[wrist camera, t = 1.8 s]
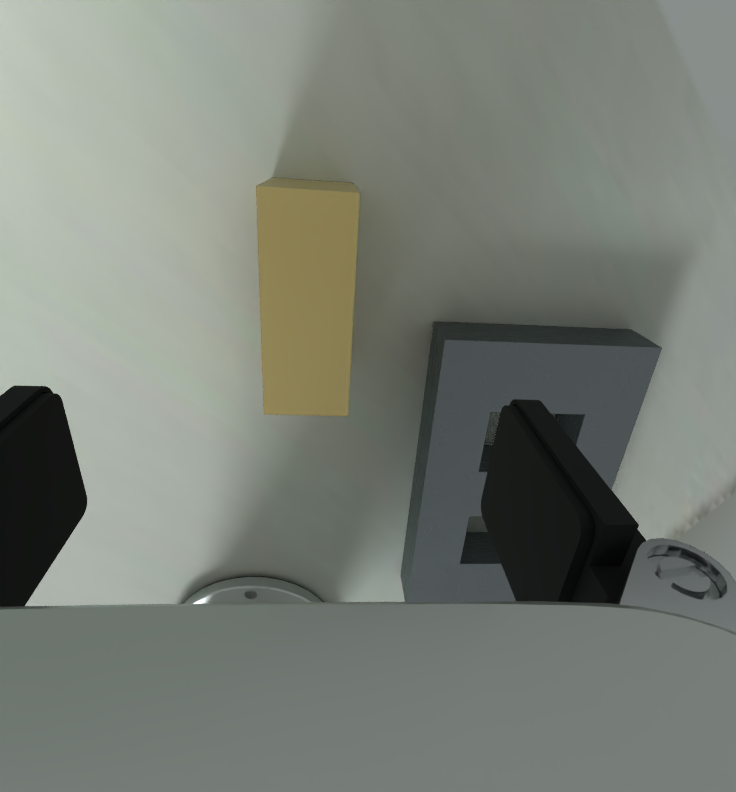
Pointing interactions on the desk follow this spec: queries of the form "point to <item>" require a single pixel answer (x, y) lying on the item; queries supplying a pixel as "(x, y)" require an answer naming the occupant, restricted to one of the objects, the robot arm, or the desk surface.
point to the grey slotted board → (468, 456)
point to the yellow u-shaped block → (307, 293)
